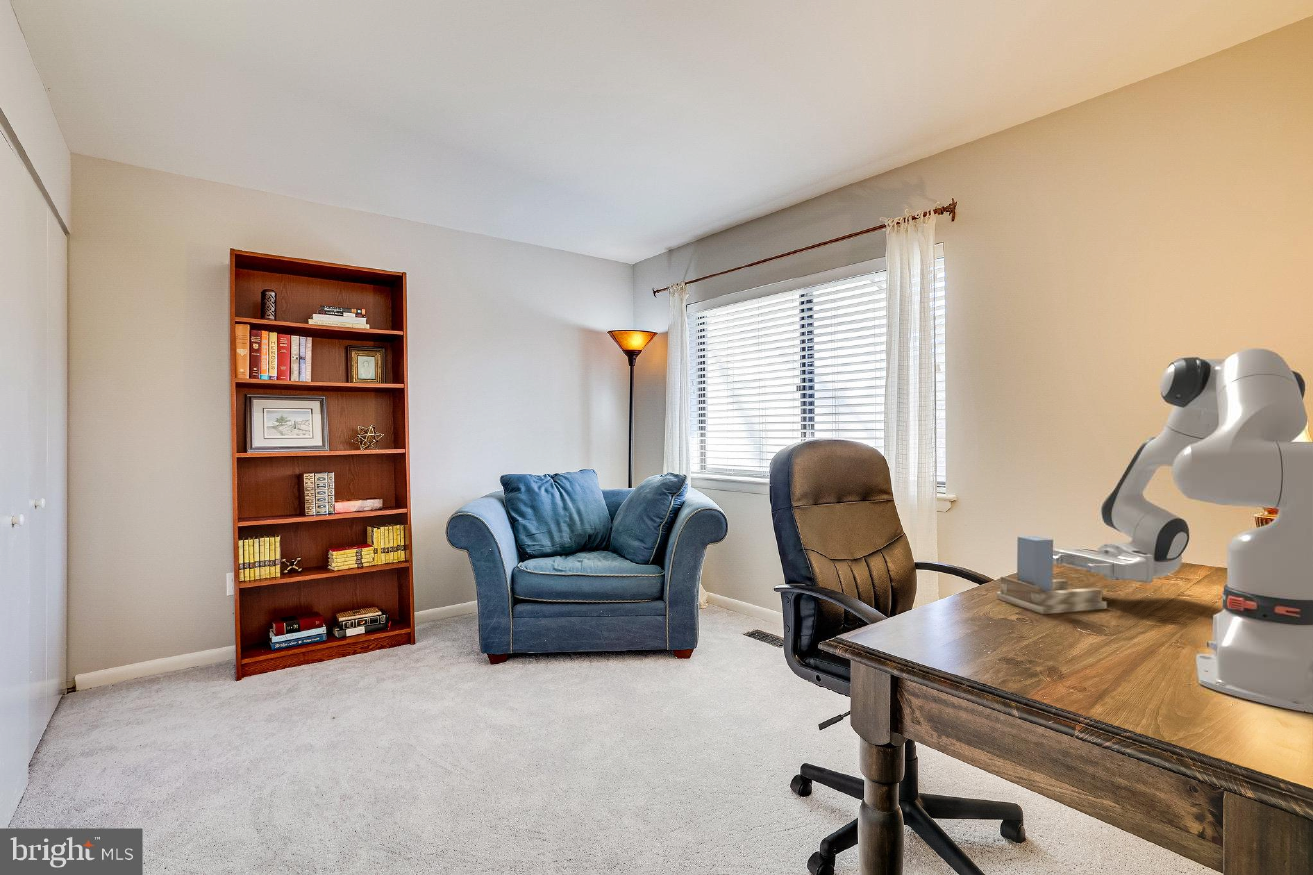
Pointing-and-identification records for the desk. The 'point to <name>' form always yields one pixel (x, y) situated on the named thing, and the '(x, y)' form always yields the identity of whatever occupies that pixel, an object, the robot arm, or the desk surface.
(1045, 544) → the slate block
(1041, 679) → the desk surface
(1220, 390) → the robot arm
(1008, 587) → the shallow wooden tray
